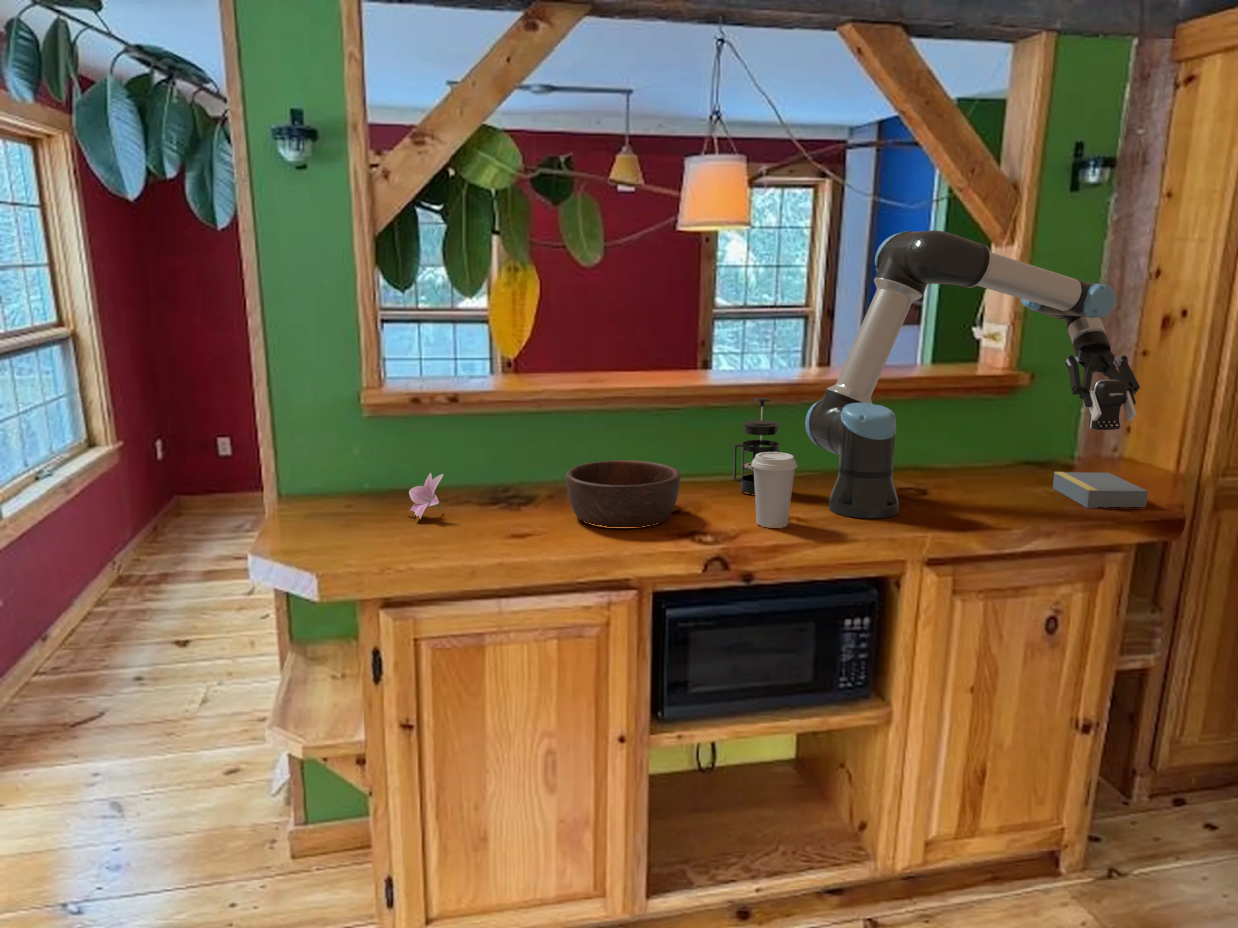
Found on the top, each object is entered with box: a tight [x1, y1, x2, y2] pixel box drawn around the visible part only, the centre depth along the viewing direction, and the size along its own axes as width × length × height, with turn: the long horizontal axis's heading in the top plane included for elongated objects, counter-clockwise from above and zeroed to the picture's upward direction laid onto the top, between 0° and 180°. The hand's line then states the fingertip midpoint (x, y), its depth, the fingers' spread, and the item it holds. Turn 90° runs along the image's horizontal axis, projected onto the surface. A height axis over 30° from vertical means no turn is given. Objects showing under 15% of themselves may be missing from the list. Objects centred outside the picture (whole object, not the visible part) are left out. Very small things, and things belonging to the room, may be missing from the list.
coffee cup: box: [751, 451, 798, 529], centre depth 189 cm, size 10×10×15 cm
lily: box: [408, 472, 444, 519], centre depth 197 cm, size 12×12×10 cm
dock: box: [1052, 471, 1149, 509], centre depth 211 cm, size 13×18×4 cm
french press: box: [732, 397, 781, 494], centre depth 216 cm, size 12×9×23 cm
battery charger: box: [1088, 379, 1127, 431], centre depth 207 cm, size 7×4×11 cm, turn 101°
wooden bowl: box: [565, 459, 681, 527], centre depth 196 cm, size 25×25×10 cm
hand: (1114, 417), depth 204 cm, fingers closed on battery charger, 7 cm apart
